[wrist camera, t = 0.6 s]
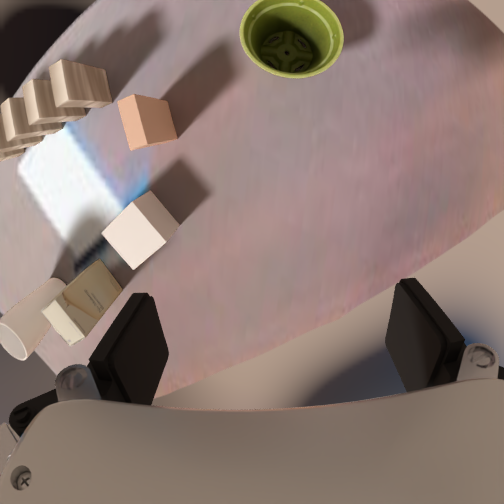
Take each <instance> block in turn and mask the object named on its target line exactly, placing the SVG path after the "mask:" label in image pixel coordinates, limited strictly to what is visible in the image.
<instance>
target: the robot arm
mask: <svg viewBox="0 0 504 504" xmlns="http://www.w3.org/2000/svg"><path fill="white" fill-rule="evenodd" d="M464 341H465V339H464V337H463V336H462V335H461V333H460V332H459V331H458V329H457V328H456V327H455V326H454V324H453V323H452V322H451V320H450V319H449V318H448V317H447V315H446V314H445V313H444V312H443V311H442V309H441V308H440V307H439V306H438V304H437V303H436V302H435V301H434V299H433V298H432V297H431V296H430V295H429V293H428V292H427V291H426V290H425V289H424V288H423V286H422V285H421V284H420V283H419V282H418V281H417V280H416V278H406V279H401V280H400V282H399V283H397V284H396V286H395V292H394V298H393V303H392V309H391V314H390V319H389V324H388V329H387V334H386V338H385V343H386V347H387V349H388V351H389V353H390V355H391V358H392V360H393V362H394V364H395V366H396V369H397V371H398V373H399V375H400V377H401V380H402V382H403V384H404V387H405V389H406V391H407V393H401V394H396V395H391V396H385V397H380V398H374V399H368V400H362V401H354V402H347V403H339V404H330V405H322V406H310V407H298V408H282V409H255V410H219V409H218V410H217V409H191V408H176V407H163V406H151V404H152V401H153V398H154V395H155V393H156V390H157V387H158V384H159V381H160V379H161V376H162V373H163V370H164V368H165V365H166V362H167V360H168V356H169V351H168V347H167V344H166V340H165V337H164V334H163V330H162V327H161V323H160V320H159V316H158V313H157V309H156V305H155V301H154V298H153V297H152V296H149V294H148V293H133V294H132V295H131V297H130V298H129V300H128V301H127V303H126V304H125V305H124V307H123V308H122V310H121V311H120V313H119V314H118V316H117V317H116V319H115V320H114V321H113V323H112V324H111V326H110V327H109V329H108V330H107V332H106V333H105V335H104V336H103V338H102V340H101V341H100V343H99V344H98V346H97V347H96V349H95V350H94V352H93V353H92V355H91V357H90V358H89V361H90V362H89V364H88V365H87V366H85V365H82V364H74V365H71V366H68V367H66V368H64V369H63V370H62V371H60V373H59V374H58V375H57V377H56V379H55V386H56V389H54V390H51V391H49V392H47V393H45V394H42V395H40V396H38V397H35V398H33V399H31V400H28V401H26V402H24V403H21V404H20V405H18V406H16V407H15V408H14V409H13V411H12V412H11V414H10V417H9V424H8V425H7V424H6V423H5V422H4V423H3V424H2V425H1V426H0V504H504V368H503V367H501V366H499V357H498V355H497V353H496V352H495V351H494V349H492V348H490V347H489V346H487V345H485V344H480V343H473V344H471V345H469V346H466V345H465V343H464Z"/></svg>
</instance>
